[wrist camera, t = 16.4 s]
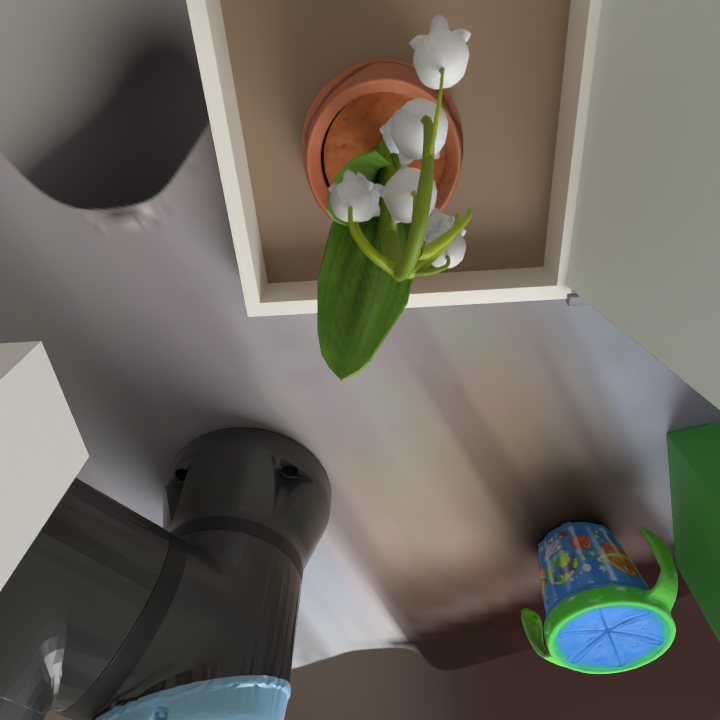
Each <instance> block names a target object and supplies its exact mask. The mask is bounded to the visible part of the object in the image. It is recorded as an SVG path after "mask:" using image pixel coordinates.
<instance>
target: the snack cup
mask: <svg viewBox="0 0 720 720" xmlns="http://www.w3.org/2000/svg"><path fill="white" fill-rule="evenodd" d="M640 530H641V532H642V533H643V534H644V535H645V536H646V538H647V540H648V543H649V545H650V547H651V549H652V551H653V553H654V555H655V558H656V560H657V562H658V564H659V566H660V568H661V572H660V575H659V578H658V580H657V583H656V585H655V586H654V588H653V589H650V588H649V587H648V585H647V584H646V582H645V580H644V579H643V577H642V576H641V575H640V573H639V571H638V570H637V568H636V567H635V565H634V564H633V562H632V561H631V560H630V559H629V557H628V556H627V555H626V553H625V551H624V550H623V548H622V546H621V545H620V543H619V542H618V541H617V540H616V538H615V537H614V535H613V534H612V533H611V532H610V531H609V530H608V529H607V528H606V527H605V526H604V525H601V524H599V525H597V524H594V523H589V522H574V523H571V522H567V523H564V524H562V525H561V526H560V527H558V528H556V529H554V530H552V531H550V532H549V533H548V534H547V535H546V536H545V538H544V540H543V541H541V542H540V543H539V544H538V563H539V571H540V580H541V588H542V596H543V601H544V606H545V610H546V620H545V623H544V636H545V640H546V644H547V647H548V650H549V653H547V651H546V650H545V647H544V644H543V635H542V622H541V619H540V617H539V615H538V614H536V613H535V612H534V611H532V610H530V609H528V608H524V609H523V610H522V611H521V612H522V617H521V619H522V622H523V626H524V629H525V632H526V635H527V637H528V639H529V641H530V643H531V645H532V647H533V648H534V650H535V651H536V652H537V653H538V654H539V655H540V656H541V657H543V658H544V659H546V660H548V661H550V662H552V663H555V664H557V665H560V666H563V667H567V668H569V669H572V670H576V671H580V672H584V673H592V674H608V673H617V672H622V671H627V670H631V669H634V668H637V667H640V666H643V665H645V664H647V663H649V662H651V661H653V660H654V659H656V658H658V657H659V656H660V655H662V654H663V653H664V652H665V651H666V650H667V649H668V648H669V646H670V645H671V643H672V642H673V639H674V637H675V634H676V633H675V632H676V627H675V623H674V620H673V618H672V616H671V609H672V607H673V604H674V602H675V599H676V595H677V590H678V577H677V571H676V567H675V563H674V560H673V557H672V555H671V552H670V551H669V549H668V547H667V546H666V545H665V544H664V543H663V542H662V541H661V540H660V539H659V538H658V537H657V536H656V535H654V534H653V533H652V532H651V531H648V530H647V529H645V528H643V527H641V528H640Z"/></svg>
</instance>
